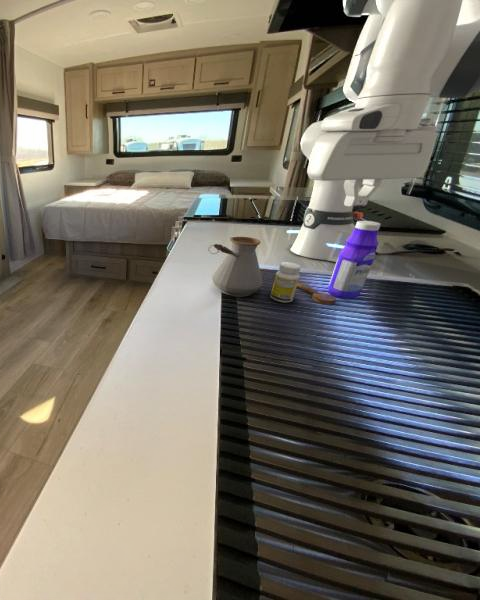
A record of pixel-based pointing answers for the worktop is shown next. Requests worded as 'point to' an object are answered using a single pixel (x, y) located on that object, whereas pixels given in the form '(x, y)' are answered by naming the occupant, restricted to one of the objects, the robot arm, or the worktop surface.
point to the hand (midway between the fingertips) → (354, 205)
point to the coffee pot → (238, 268)
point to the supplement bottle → (286, 282)
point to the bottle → (355, 261)
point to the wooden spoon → (318, 295)
